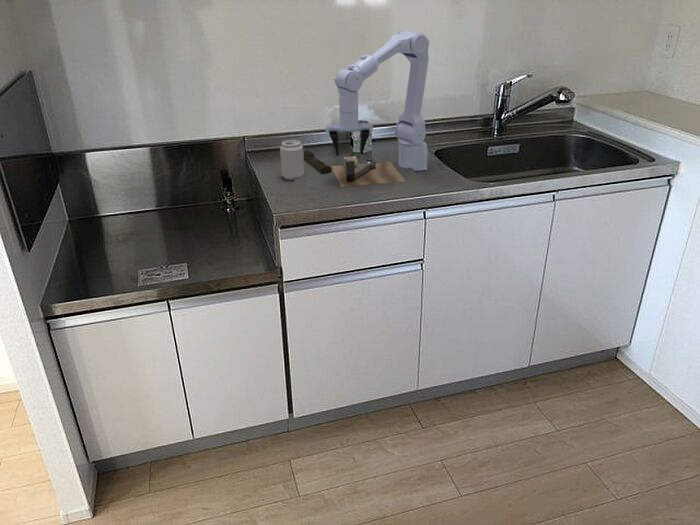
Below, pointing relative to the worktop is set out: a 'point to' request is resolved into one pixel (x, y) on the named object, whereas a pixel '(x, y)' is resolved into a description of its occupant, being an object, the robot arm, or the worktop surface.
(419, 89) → the robot arm
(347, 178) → the lever
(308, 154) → the hand tool
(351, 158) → the beige cylinder plug
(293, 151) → the can
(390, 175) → the board
